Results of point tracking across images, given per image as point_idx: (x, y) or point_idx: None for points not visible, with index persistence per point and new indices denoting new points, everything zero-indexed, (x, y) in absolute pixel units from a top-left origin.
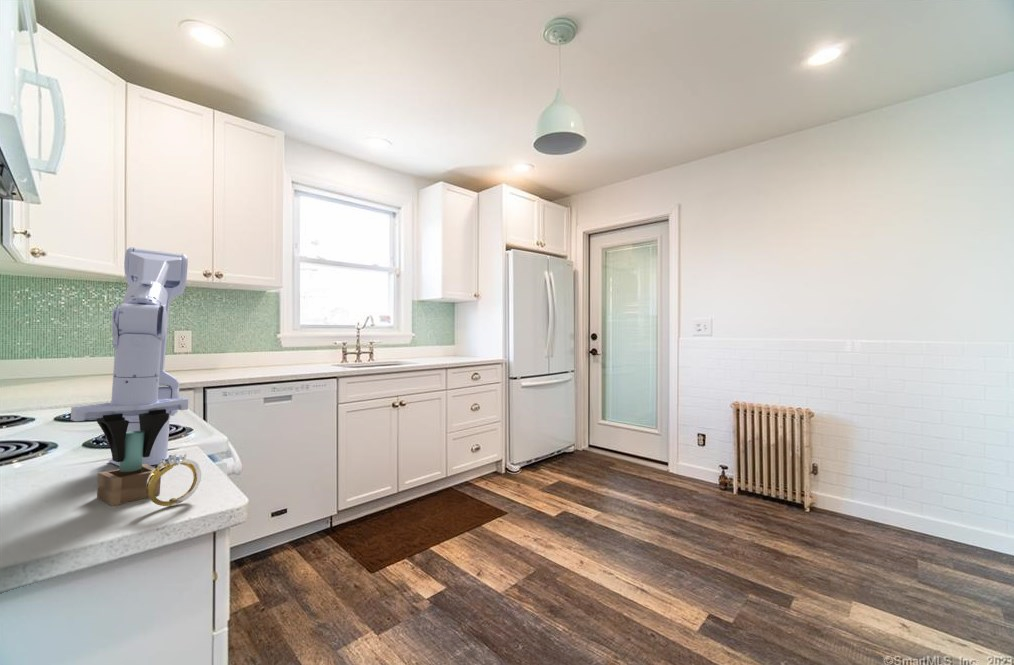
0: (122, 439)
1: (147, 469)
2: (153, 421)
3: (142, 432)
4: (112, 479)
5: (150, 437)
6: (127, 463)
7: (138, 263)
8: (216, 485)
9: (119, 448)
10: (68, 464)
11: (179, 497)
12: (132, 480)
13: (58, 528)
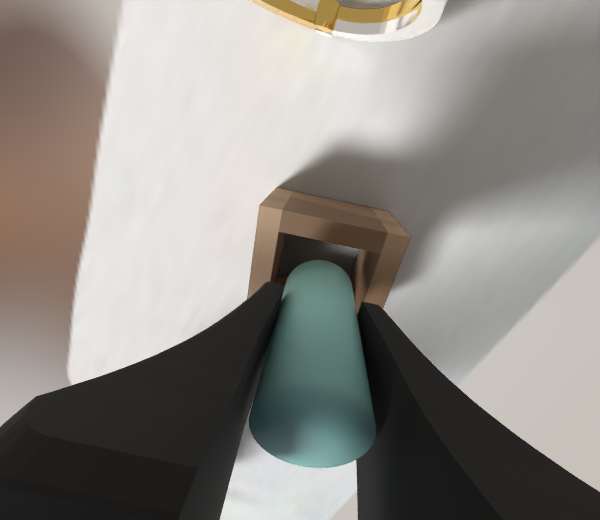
0: (416, 375)
1: (272, 267)
2: (209, 427)
3: (276, 395)
4: (404, 252)
5: (252, 330)
6: (347, 289)
7: None
8: (136, 96)
9: (404, 340)
10: (253, 504)
11: (301, 17)
12: (353, 219)
13: (553, 169)
